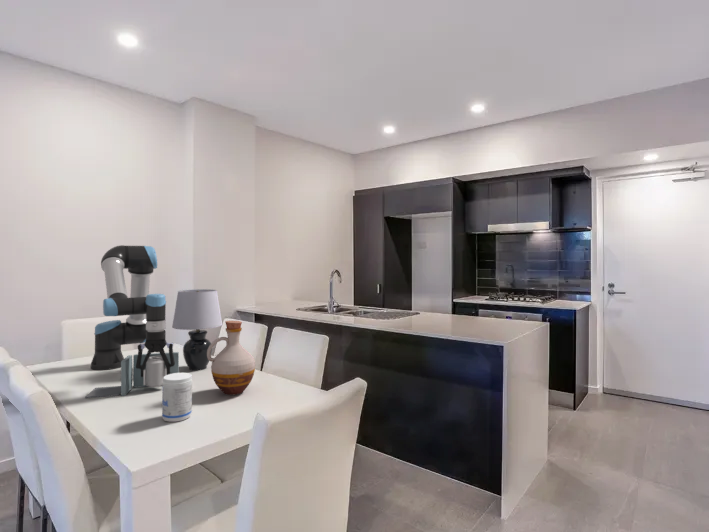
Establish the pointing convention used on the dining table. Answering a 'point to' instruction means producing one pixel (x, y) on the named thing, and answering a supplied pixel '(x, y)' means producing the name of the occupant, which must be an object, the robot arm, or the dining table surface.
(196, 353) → the lamp
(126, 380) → the screen
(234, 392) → the jug
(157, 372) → the can
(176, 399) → the supplement tub
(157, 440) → the dining table surface
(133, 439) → the dining table surface
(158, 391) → the dining table surface
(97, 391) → the coaster
